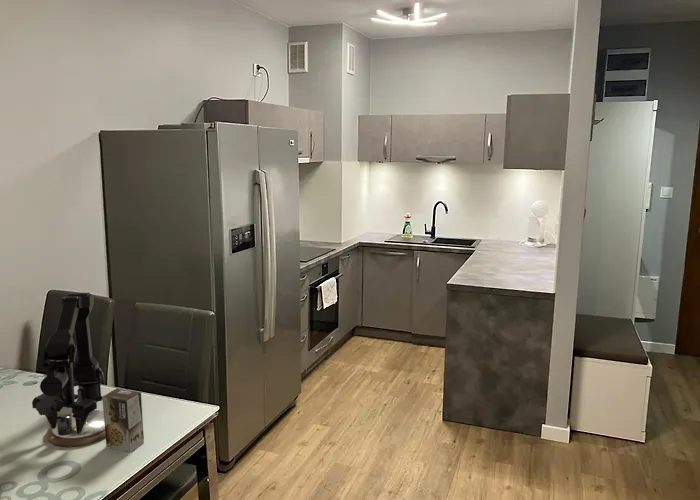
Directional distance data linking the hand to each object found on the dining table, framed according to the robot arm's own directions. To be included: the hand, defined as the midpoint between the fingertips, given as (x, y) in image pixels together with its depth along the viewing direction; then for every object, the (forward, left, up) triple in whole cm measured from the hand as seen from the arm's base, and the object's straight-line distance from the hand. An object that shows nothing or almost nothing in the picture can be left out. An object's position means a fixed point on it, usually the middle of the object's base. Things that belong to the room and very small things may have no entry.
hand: (66, 430), depth 168 cm
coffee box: (-9, +16, -4) cm, 19 cm away
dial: (-6, -2, -2) cm, 7 cm away
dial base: (-6, -2, -3) cm, 7 cm away
